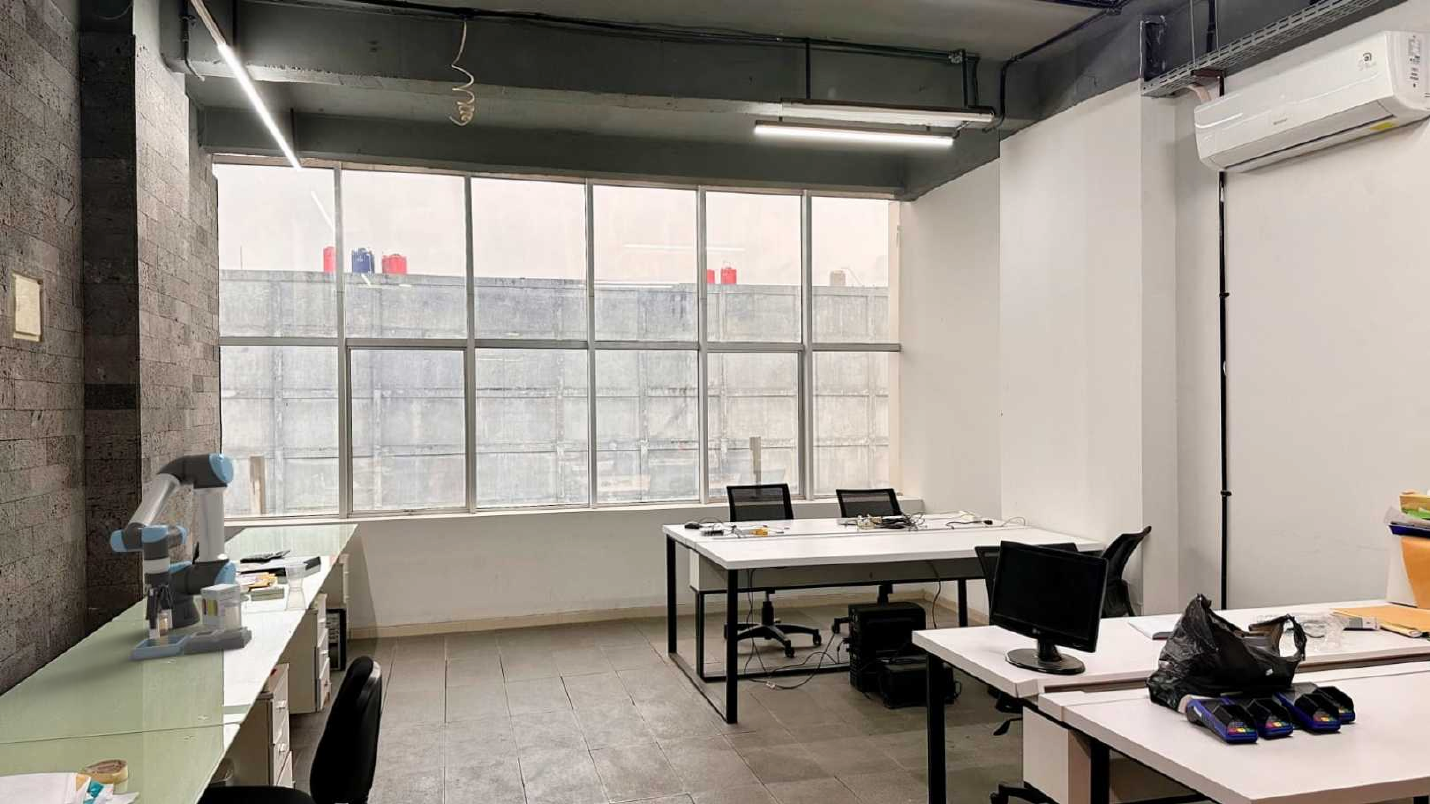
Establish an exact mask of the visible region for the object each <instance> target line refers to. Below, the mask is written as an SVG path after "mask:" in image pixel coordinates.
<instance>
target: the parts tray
mask: <svg viewBox="0 0 1430 804" xmlns="http://www.w3.org/2000/svg"><path fill="white" fill-rule="evenodd" d="M191 635H192V633H181V634H174V635H168V638H169V645H162V646H155V639H150V637H148V638H144V639H143V640H142V641H141V642H139V643H137V644H136V645H135V646H134V647H132V648H131V650H130V657H131V659H130V660H131V661H134V660H135V661H136V660H143V659H153V658H161V657H163V658H164V657H168V656H178V655H180V654H181V653H182V652H184V651H185V645H186V644H187V643H188V642H189V637H190V636H191Z"/></svg>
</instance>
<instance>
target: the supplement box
mask: <svg viewBox="0 0 1430 804" xmlns="http://www.w3.org/2000/svg"><path fill="white" fill-rule="evenodd" d="M200 598H201V599H200V600H201V601H200V602H201V617H202V631H209V630H218V629H219V633H220V632H221V631H222V630H223V629H226V618H225V607H224V602H226V601H231V600H238V614H239V627H243V621H242V620H243V619H242V604H241V585H240V584H219V585H215V586H211V587H207V588H203V589H201V595H200Z"/></svg>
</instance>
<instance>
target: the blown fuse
mask: <svg viewBox="0 0 1430 804" xmlns="http://www.w3.org/2000/svg"><path fill="white" fill-rule="evenodd" d="M157 618H159V634H160V638H156V639H155V646H162V645H169V638H168V636H169V629H168V624H167V613H158V616H157Z"/></svg>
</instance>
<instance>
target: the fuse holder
mask: <svg viewBox="0 0 1430 804" xmlns="http://www.w3.org/2000/svg"><path fill="white" fill-rule="evenodd" d="M224 607H225V618H226V629H223V630H222V631H221V632H220V633H219V629H218V630H209V631H203V630H201V631H200V630H199V631H195V632H194V633H191V636H190V637H189V642H188V643H187V644H186V645H185V650H184V655H189V654H190V655H191V654H197V653H198V654H199V653H206V652H214V651H215V652H216V651H222V650H224V651H225V650H233V649H241V648H245V647H246V646H247V644H249V643H250V641H252V639H253V634H252V630H251V629H250V630H248V625H247V626H242V627H239V614H238V600H231V601H226V602H224Z"/></svg>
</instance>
